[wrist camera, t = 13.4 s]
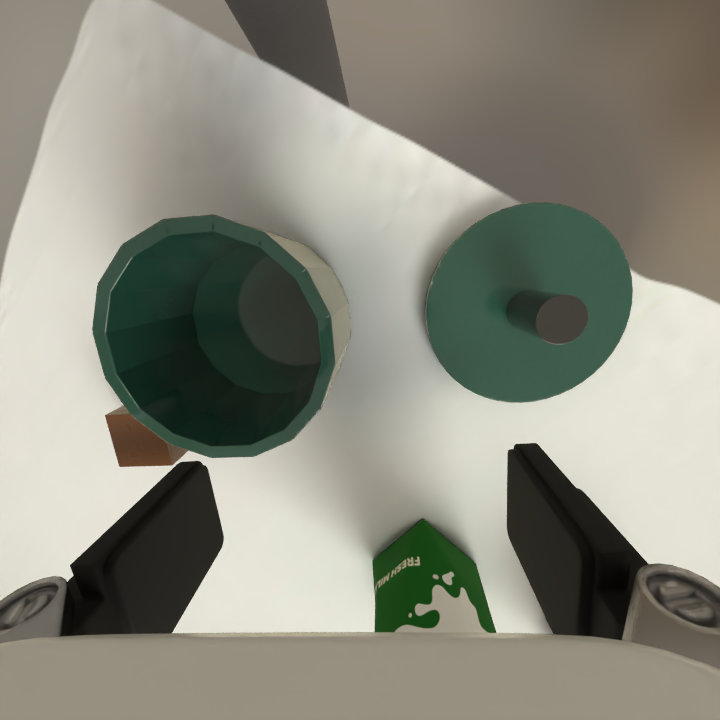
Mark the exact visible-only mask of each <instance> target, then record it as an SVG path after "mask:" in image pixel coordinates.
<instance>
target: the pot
mask: <svg viewBox="0 0 720 720" xmlns="http://www.w3.org/2000/svg"><path fill="white" fill-rule="evenodd" d="M92 330H93V336H94V339H95V343H96V347H97V350H98V354H99V358H100V361H101V365H102V369H103V372H104V376H105V379H106V380H107V381H108V383H109V384H110V386H111V387H112V389H113V390H114V392H115V393H116V394H117V396H118V397H119V399H120V400H121V402H122V403H123V405H124V406H125V407H126V409H127V410H128V412H129V413H130V415H131V416H133V417H134V418H135V419H137V420H138V421H139V422H141V423H142V424H143V425H144V426H146V427H147V428H148V429H150V430H151V431H152V432H154V433H155V434H156V435H158V436H159V437H160V438H162V439H163V440H164V441H166V442H167V443H169V444H171V445H174V446H177V447H180V448H183V449H186V450H189V451H192V452H195V453H198V454H201V455H204V456H207V457H211V458H226V457H253V456H257V455H259V454H261V453H264V452H266V451H268V450H270V449H273V448H275V447H277V446H280V445H282V444H284V443H286V442H289V441H291V440H292V439H294V438H295V437H296V436H297V435H298V434H299V432H300V431H301V430H302V429H303V428H304V427H305V426H306V425H307V424H308V423H309V421H310V420H311V419H312V418H313V417H314V416H315V415H316V414H317V413H318V412H319V411H320V409H321V408H322V406H323V404H324V402H325V400H326V397H327V395H328V393H329V391H330V389H331V386H332V384H333V382H334V380H335V378H336V375H337V373H338V371H339V369H340V367H341V364H342V361H343V358H344V355H345V352H346V350H347V346H348V343H349V340H350V337H351V328H350V312H349V303H348V299H347V297H346V295H345V293H344V290H343V288H342V286H341V284H340V282H339V280H338V278H337V277H336V275H335V273H334V271H333V270H332V268H331V267H330V266H328V265H327V264H326V263H325V262H324V261H323V260H322V259H321V258H320V257H319V256H318V255H317V254H315V253H314V252H313V251H311V250H310V249H309V248H308V247H307V246H306V245H304V244H302V243H299V242H296V241H293V240H290V239H287V238H284V237H281V236H278V235H276V234H273V233H270V232H267V231H264V230H260V229H257V228H254V227H251V226H248V225H245V224H242V223H239V222H236V221H233V220H230V219H227V218H224V217H221V216H217V215H213V214H212V215H201V216H190V217H179V218H169V219H163V220H161V221H159V222H157V223H156V224H154V225H153V226H151V227H149V228H148V229H146V230H145V231H143V232H141V233H140V234H138V235H136V236H135V237H133V238H132V239H130V240H128V241H127V242H125V243H124V244H122V246H121V247H120V248H119V250H118V252H117V253H116V255H115V257H114V258H113V260H112V262H111V263H110V265H109V267H108V268H107V270H106V271H105V273H104V275H103V276H102V278H101V280H100V281H99V283H98V286H97V293H96V302H95V311H94V319H93V328H92Z"/></svg>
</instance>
